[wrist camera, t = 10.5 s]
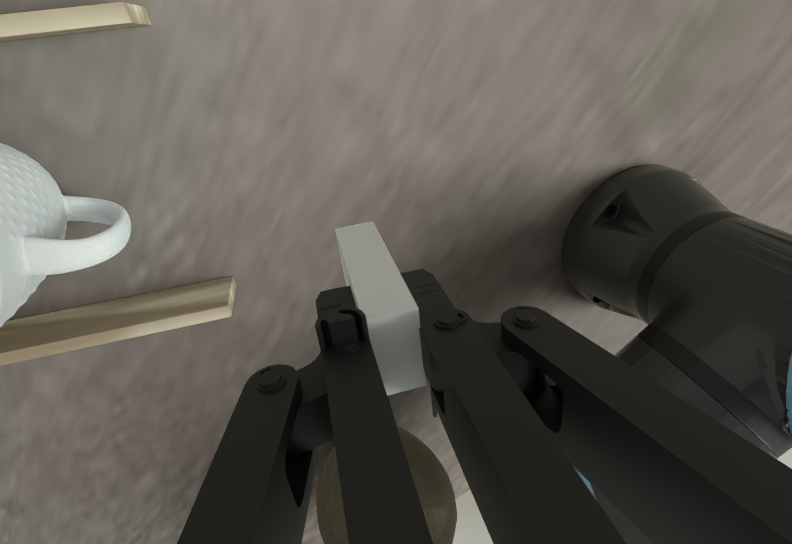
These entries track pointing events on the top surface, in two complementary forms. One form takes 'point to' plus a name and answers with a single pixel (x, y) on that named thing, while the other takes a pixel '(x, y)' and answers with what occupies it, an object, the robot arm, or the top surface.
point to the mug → (46, 229)
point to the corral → (120, 314)
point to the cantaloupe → (427, 481)
